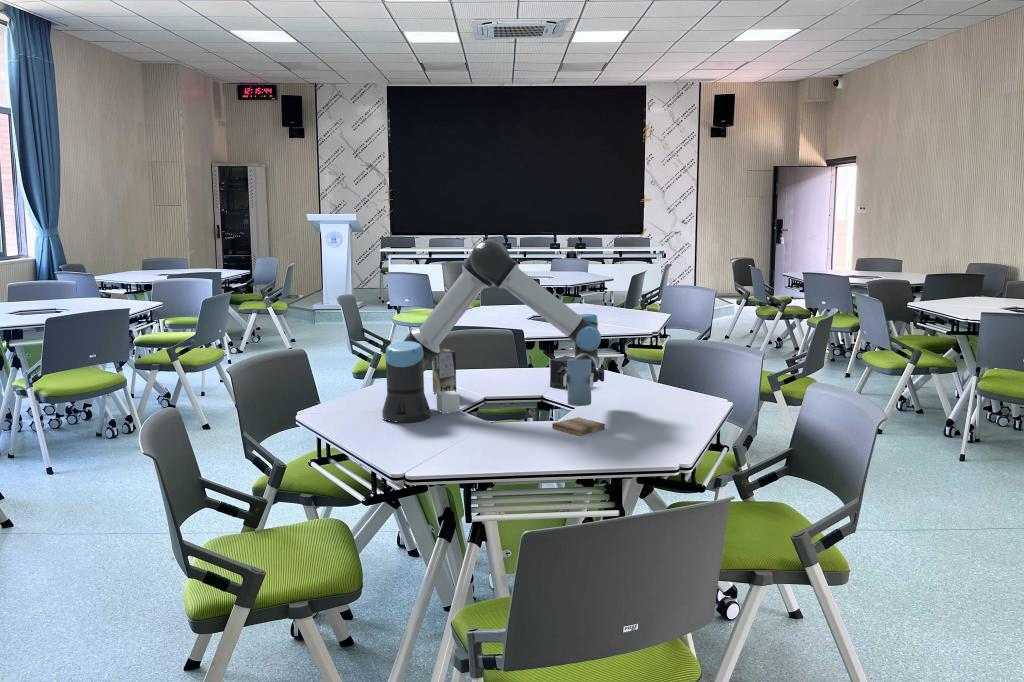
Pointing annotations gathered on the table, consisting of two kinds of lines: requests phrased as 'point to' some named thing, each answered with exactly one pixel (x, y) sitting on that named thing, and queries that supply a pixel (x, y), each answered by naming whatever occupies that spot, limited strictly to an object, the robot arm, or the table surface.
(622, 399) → the table surface
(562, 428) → the board
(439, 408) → the grey cube
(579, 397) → the grey cylinder
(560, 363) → the small box
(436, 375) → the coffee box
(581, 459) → the table surface
